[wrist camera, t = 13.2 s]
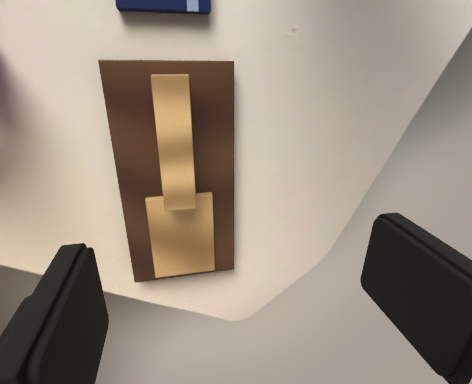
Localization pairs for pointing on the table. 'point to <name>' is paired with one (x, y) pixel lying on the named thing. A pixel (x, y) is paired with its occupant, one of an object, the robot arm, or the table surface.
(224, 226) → the walnut board
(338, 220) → the table surface
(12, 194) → the table surface
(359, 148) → the table surface
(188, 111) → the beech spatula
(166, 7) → the navy tea towel
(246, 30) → the table surface
